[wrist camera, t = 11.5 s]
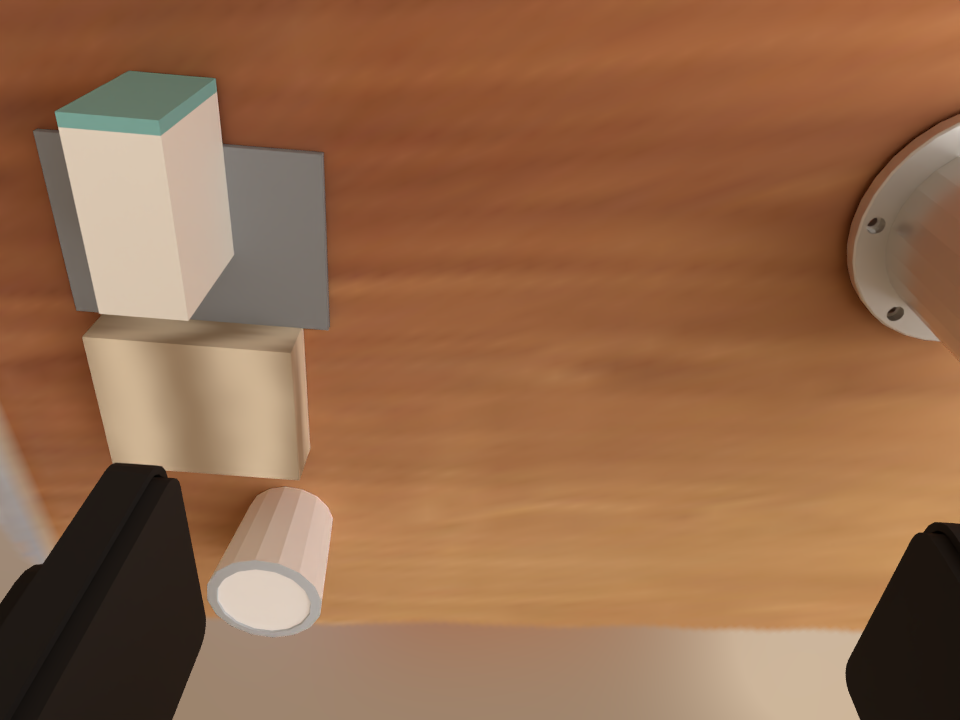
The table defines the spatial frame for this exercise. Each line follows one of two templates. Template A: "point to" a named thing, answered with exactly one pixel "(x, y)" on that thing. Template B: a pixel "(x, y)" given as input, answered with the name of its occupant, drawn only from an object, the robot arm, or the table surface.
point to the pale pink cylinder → (274, 565)
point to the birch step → (202, 395)
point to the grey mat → (234, 237)
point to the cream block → (149, 191)
